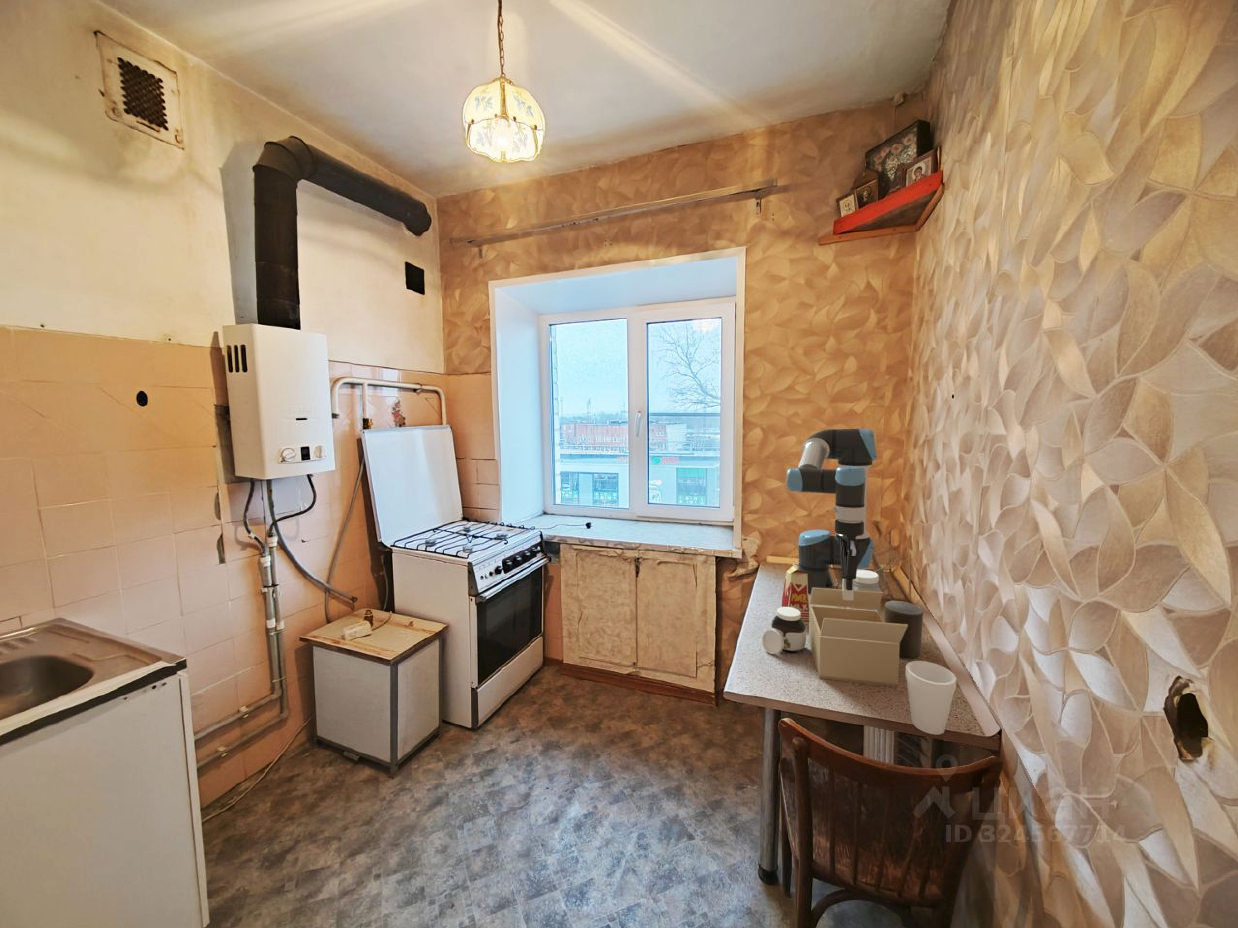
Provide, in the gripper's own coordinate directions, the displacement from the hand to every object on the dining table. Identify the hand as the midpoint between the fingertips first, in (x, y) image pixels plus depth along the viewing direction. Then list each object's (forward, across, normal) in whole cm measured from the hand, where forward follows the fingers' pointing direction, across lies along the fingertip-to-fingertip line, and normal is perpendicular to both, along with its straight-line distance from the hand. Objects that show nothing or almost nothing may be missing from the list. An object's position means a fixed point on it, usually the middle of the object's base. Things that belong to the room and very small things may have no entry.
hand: (847, 599), depth 131 cm
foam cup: (+18, +27, +11) cm, 35 cm away
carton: (+18, +3, 0) cm, 18 cm away
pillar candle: (+18, -7, +16) cm, 25 cm away
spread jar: (+18, 0, -18) cm, 25 cm away
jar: (+17, -22, +10) cm, 29 cm away
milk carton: (+17, -23, -12) cm, 31 cm away
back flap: (+1, -3, 0) cm, 4 cm away
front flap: (+2, +16, 0) cm, 16 cm away
